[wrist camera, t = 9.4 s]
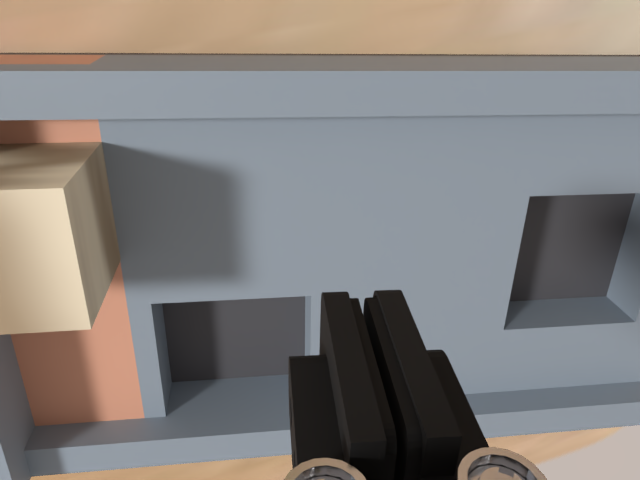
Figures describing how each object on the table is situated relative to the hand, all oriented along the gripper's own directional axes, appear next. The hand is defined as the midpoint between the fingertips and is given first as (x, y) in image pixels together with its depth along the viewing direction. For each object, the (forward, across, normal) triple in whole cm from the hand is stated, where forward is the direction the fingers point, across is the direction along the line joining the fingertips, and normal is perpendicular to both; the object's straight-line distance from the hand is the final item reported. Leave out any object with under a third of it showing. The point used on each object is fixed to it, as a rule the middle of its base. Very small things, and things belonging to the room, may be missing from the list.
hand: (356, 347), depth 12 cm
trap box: (+14, -2, +5) cm, 16 cm away
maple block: (+11, +10, +2) cm, 15 cm away
